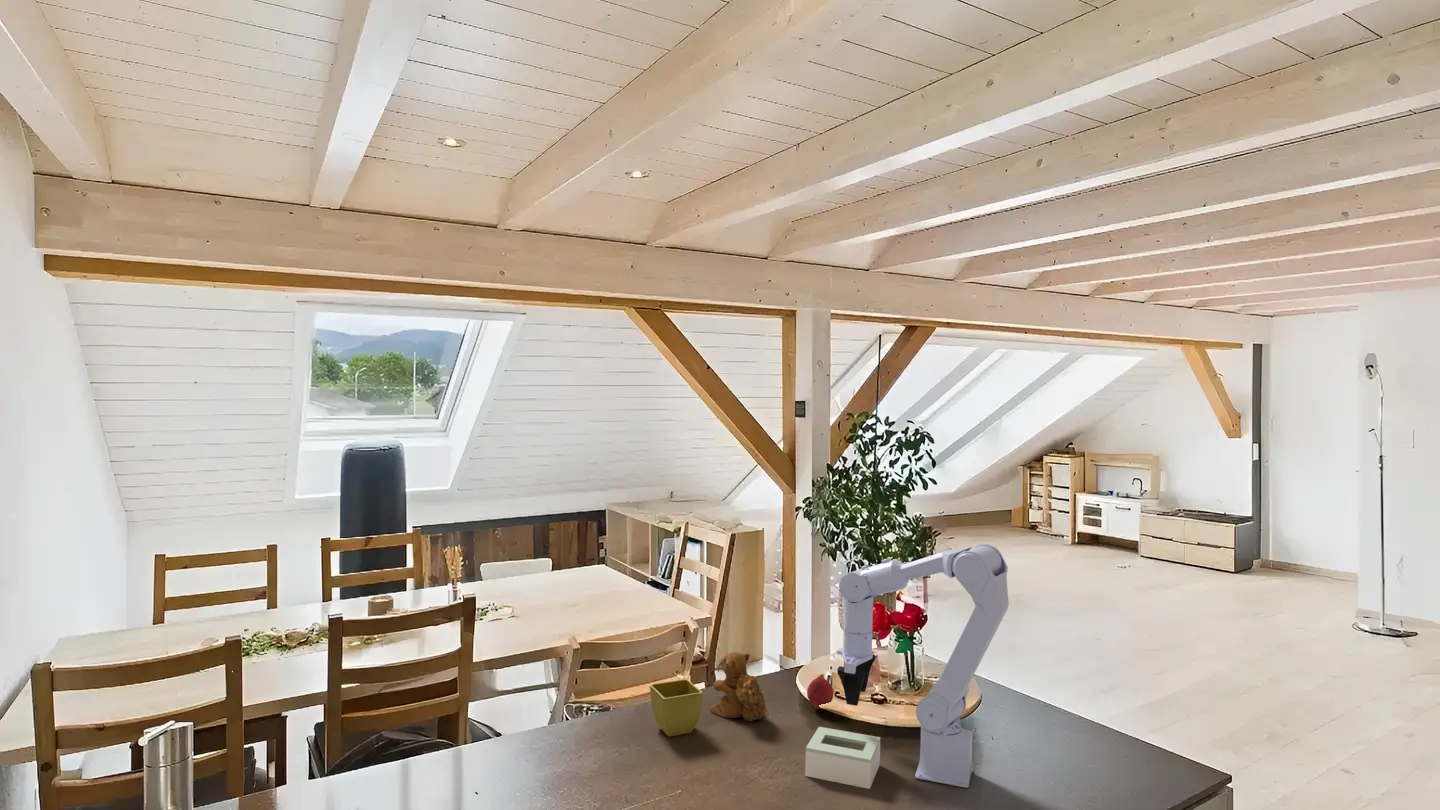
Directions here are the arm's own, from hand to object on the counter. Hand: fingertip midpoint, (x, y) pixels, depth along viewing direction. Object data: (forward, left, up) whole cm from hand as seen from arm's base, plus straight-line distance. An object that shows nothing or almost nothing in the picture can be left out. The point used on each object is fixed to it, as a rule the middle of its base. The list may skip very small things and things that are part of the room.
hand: (856, 697), depth 161 cm
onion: (+11, -15, -10) cm, 21 cm away
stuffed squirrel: (+26, -5, -10) cm, 28 cm away
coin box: (0, +11, -10) cm, 15 cm away
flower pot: (+36, +8, -10) cm, 38 cm away
